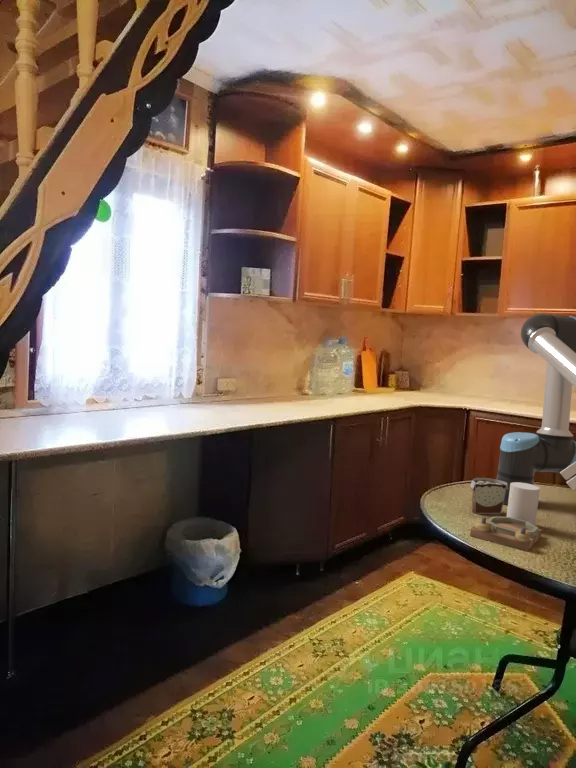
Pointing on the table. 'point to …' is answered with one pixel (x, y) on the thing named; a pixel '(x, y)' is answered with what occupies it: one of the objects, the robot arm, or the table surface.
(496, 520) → the gear board
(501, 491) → the food container
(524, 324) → the robot arm
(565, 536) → the table surface
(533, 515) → the tall round pillar
